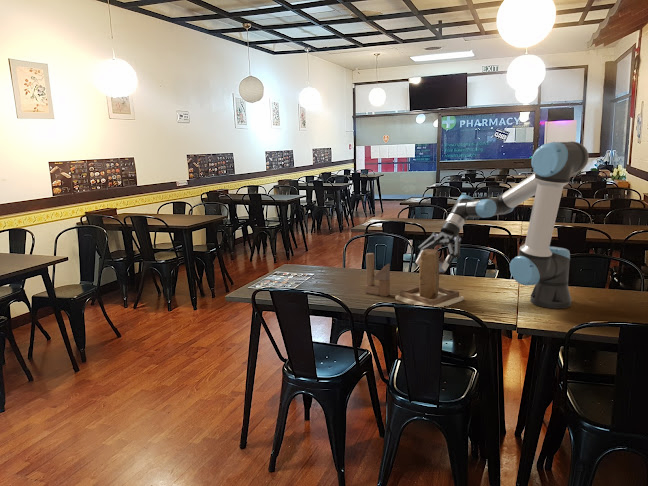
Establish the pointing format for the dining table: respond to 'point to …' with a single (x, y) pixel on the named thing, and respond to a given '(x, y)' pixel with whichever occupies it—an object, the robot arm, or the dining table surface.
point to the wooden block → (382, 276)
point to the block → (429, 274)
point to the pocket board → (442, 299)
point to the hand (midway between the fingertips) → (429, 266)
